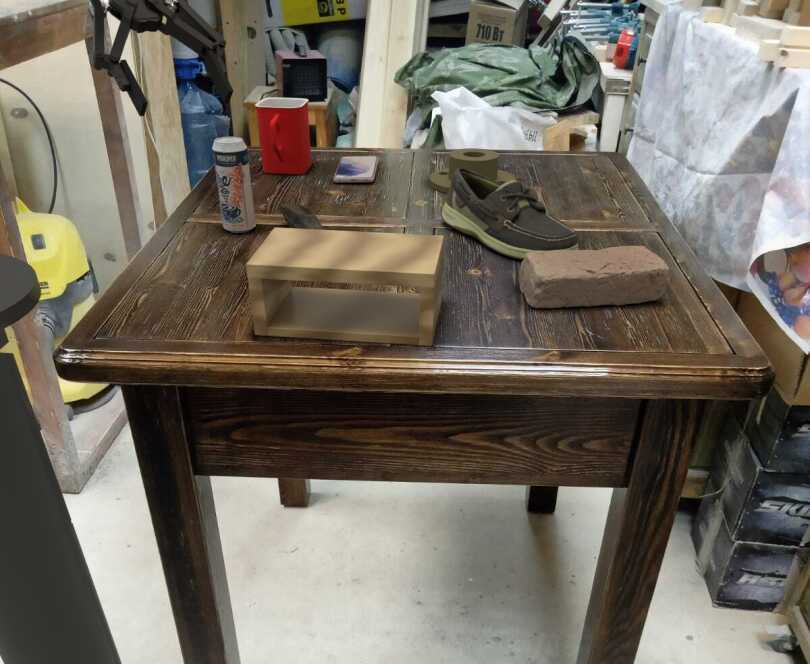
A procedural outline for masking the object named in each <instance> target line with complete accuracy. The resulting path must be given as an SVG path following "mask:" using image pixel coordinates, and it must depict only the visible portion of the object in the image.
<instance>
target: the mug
mask: <svg viewBox="0 0 810 664" xmlns="http://www.w3.org/2000/svg"><path fill="white" fill-rule="evenodd" d="M309 100H310V99H309V98H303V97H301V98H300V97H273V96H272V97H265V98H262V99H260V101H257V103H255V104H254V107H255V110H256V113H257V114H256V115H257V125H258V133H259V134H258V135H259V143H260V151H261V160H262V171H263V172H264V173H265V174H270V175H271V174H274V175H297V176H298V175H304V174H306V173H307V172H308V170H309V169H310V168H311V167H312V165H313V164H312V150H311V149H312V148H311V137H310V122H309Z"/></svg>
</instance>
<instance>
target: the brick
mask: <svg viewBox="0 0 810 664" xmlns="http://www.w3.org/2000/svg"><path fill="white" fill-rule="evenodd" d="M669 272H670V267H669V266H668V264H667V263H666V262H665V260H664V259H662V258H661V257H660V256H659V255H657V254H656V253H654V252H652V250H650V249H648V248H647V247H646V246H645V245H623V246H622V245H620V246H610V247H606V248H600V249H597V250H595V249H589V250H588V249H578V250H573V251H572V250H552V251H548V252H546V251H541V252H528V253H526V254H525V255H524V260H522V261H521V263H520V267H519V273H518V274H519V275H518V280H519V290H520V291H521V294H524V297H525V300H526V303H527V304H528V305H529V306H530V307H531V308H535V309H555V308H559V309H560V308H563V307H565V308H571V307H573V308H578V307H588V308H589V307H598V306H622V305H623V306H624V305H630V304H641V303H646V302H650V301H656V300H659V299H661V298H662V297H663V296H664V294H665V293H666V288H667V285H668V281H669V277H668V275H669Z"/></svg>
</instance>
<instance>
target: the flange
mask: <svg viewBox="0 0 810 664" xmlns="http://www.w3.org/2000/svg"><path fill="white" fill-rule="evenodd" d="M499 159H500V154H499V153H498V152H497V151H495V150H491V149H487V148H476V147H475V148H474V147H467V148H466V147H465V148H459V149H454V150H451V151H450V152H449V153H448V168H447V167H446V168H442V169H439V170H436V171H433V172H432V173H431V174H429V178H428V179H429V181H428V185H429V187H431V188H432V189H434V190H435V191H437V192H441V193H444V194H448V191H449V188H450V185H451V182H452V179H453V176H454V173H455V171H456V169H457V168H459V167H462V168H466V169H469V170H471V171H473V172H476V173H479V174H481V175H483V176H485V177H487V178H490V179H492V180H493V181H495V182H498V183H501V184H504V183H506V182H508V181H511V180H517V178H516V176H515V175H514V174H513V173H510V172H508V171H505V170H501V169H499V161H500V160H499Z"/></svg>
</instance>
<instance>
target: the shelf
mask: <svg viewBox="0 0 810 664" xmlns="http://www.w3.org/2000/svg"><path fill="white" fill-rule="evenodd" d="M444 243H445V235H440V234H439V235H436V234H418V233H416V234H415V233H398V232H397V233H396V232H378V231H377V232H376V231H375V232H374V231H358V230H357V231H355V230H335V229H326V230H316V229H295V228H290V227H274V228H272V230H271V231H270V232H269V234H268V235H267V237H266V238H265V239H264V240H263V242H262V243H261V244H260V246H259V247H258V248H257V249H256V251H255V252H254V253H253V255H252V256H251V257H250V259H249V260H248V261H247V262H246V264H245V267H246V275H247V282H248V290H249V297H250V303H251V304H250V307H251V313H252V323H253V330H254V336H264V337H266V336H267V337H279V338H280V337H281V338H294V339H295V338H296V339H299V338H300V339H313V340H328V341H329V340H331V341H346V342H361V343H363V342H364V343H379V344H380V343H381V344H395V345H410V346H411V345H412V346H427V347H433V344H434V339H435V334H436V330H437V324H438V320H439V316H440V311H441V306H442V296H443V270H444V248H445V247H444V246H445V244H444ZM292 281H298V282H317V283H333V284H334V283H335V284H352V285H353V284H354V285H371V286H391V287H406V288H407V287H410V288H419V293H417V292H415V293H414V292H397V291H396V292H395V291H377V290H362V289H361V290H359V289H342V288H327V287H326V288H325V287H324V288H323V287H308V286H307V287H305V286H293V283H292Z"/></svg>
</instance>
